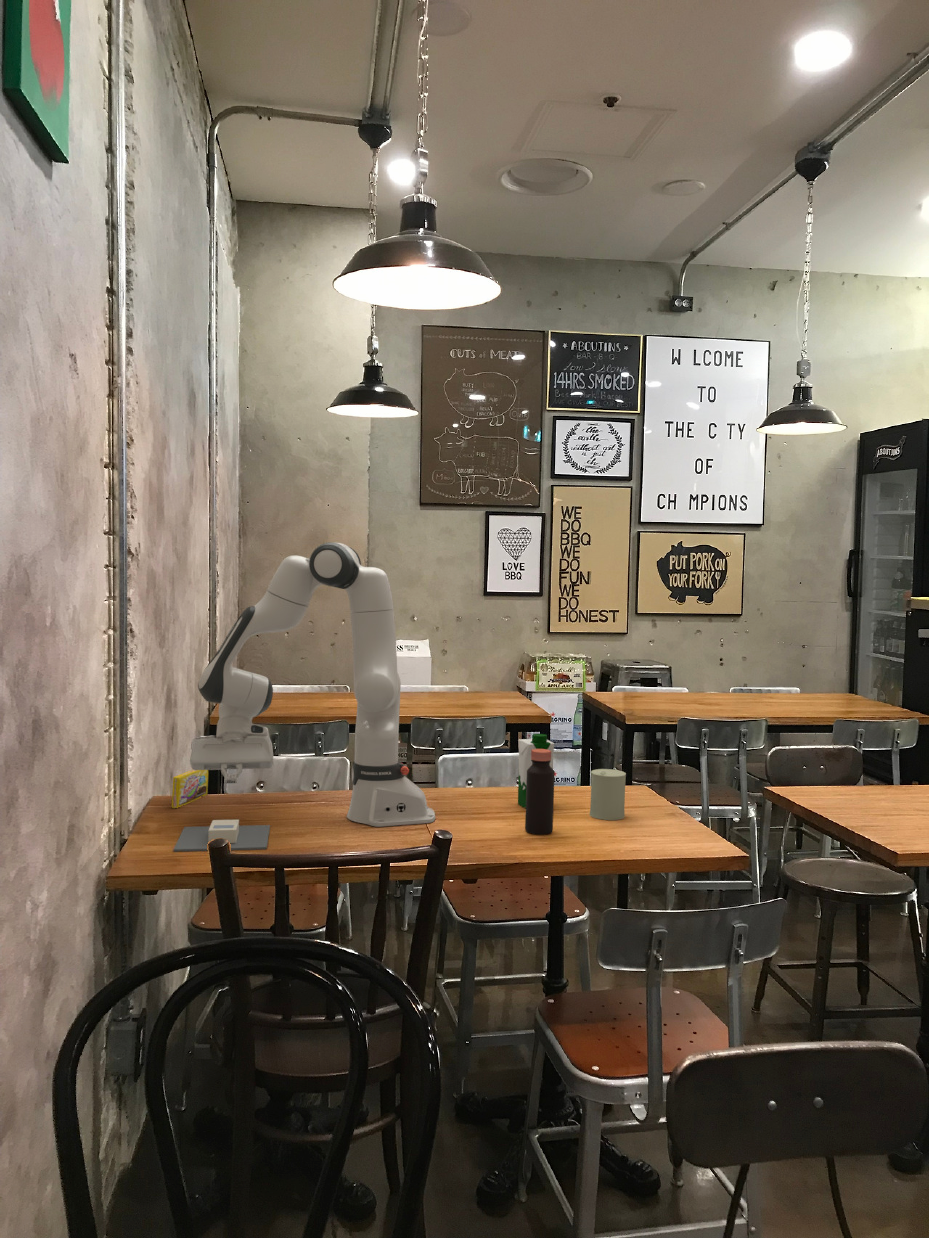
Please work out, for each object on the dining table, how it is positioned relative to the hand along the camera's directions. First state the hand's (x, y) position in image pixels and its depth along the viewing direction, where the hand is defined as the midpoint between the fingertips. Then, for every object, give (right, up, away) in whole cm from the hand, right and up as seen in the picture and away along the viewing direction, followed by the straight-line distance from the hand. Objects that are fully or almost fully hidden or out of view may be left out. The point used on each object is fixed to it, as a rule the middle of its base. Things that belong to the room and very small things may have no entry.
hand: (230, 782), depth 220 cm
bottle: (+76, -12, 0) cm, 77 cm away
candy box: (-16, -9, +21) cm, 28 cm away
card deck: (+1, -9, -9) cm, 13 cm away
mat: (+2, -11, -13) cm, 17 cm away
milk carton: (+76, -11, +25) cm, 81 cm away
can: (+95, -12, +17) cm, 97 cm away
